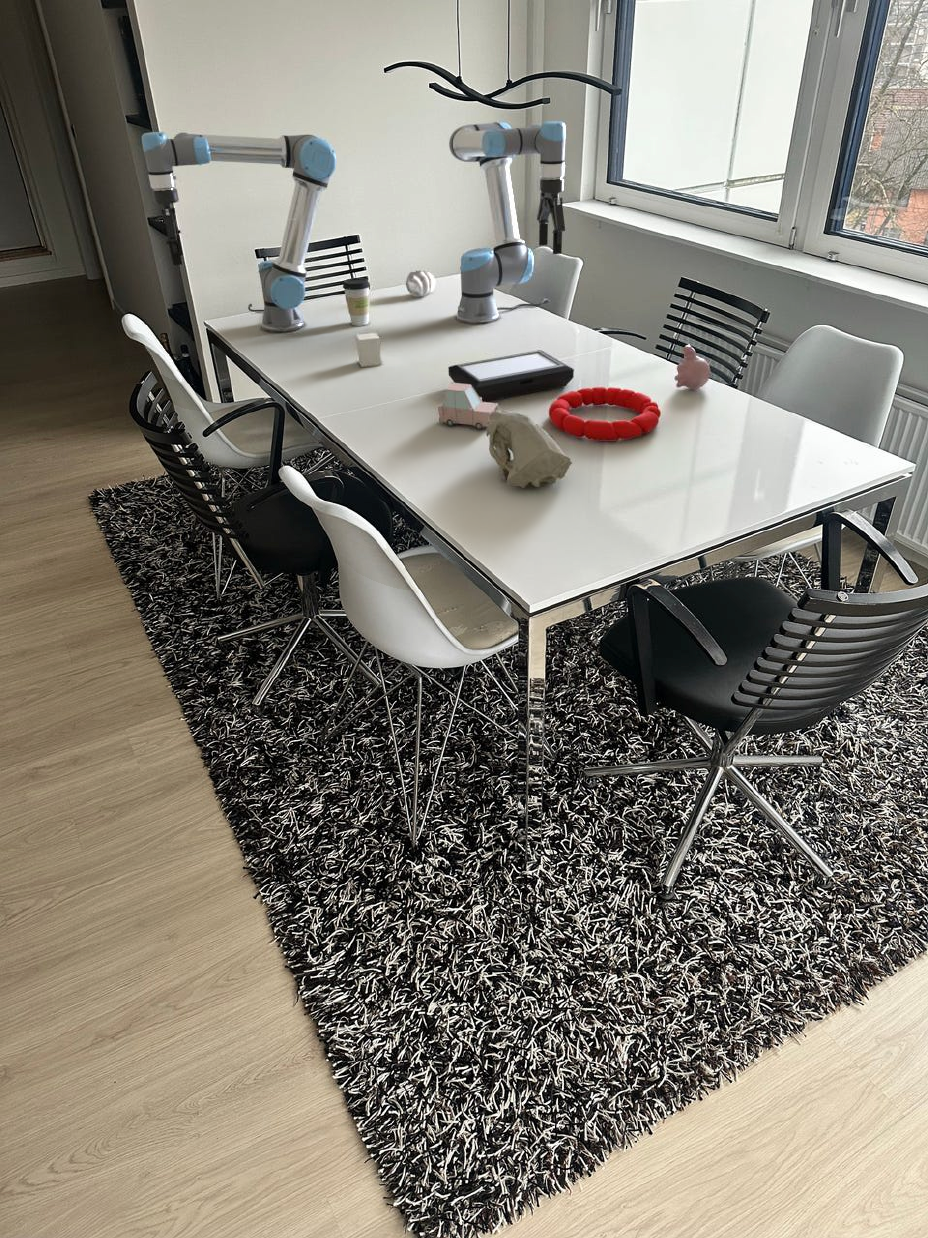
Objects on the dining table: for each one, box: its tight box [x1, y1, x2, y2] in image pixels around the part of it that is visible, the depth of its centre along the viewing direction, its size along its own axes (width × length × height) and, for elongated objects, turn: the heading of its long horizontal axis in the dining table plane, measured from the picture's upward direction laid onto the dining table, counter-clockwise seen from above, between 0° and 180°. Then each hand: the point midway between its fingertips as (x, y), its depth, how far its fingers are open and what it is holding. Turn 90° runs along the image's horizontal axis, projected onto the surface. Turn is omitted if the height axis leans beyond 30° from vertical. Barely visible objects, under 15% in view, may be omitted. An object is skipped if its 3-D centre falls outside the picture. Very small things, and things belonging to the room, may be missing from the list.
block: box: [355, 332, 382, 368], centre depth 288 cm, size 6×6×9 cm
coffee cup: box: [342, 277, 371, 327], centre depth 323 cm, size 10×10×15 cm
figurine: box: [674, 344, 711, 390], centre depth 259 cm, size 9×11×12 cm
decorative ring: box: [548, 386, 661, 442], centre depth 242 cm, size 7×30×30 cm
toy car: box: [437, 382, 499, 431], centre depth 243 cm, size 9×15×10 cm, turn 70°
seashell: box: [405, 270, 436, 298], centre depth 352 cm, size 10×15×10 cm
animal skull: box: [485, 409, 573, 489], centre depth 216 cm, size 17×25×20 cm
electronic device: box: [448, 349, 575, 402], centre depth 267 cm, size 32×6×20 cm
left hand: (178, 259), depth 290 cm, fingers open, 13 cm apart
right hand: (550, 249), depth 292 cm, fingers open, 13 cm apart
